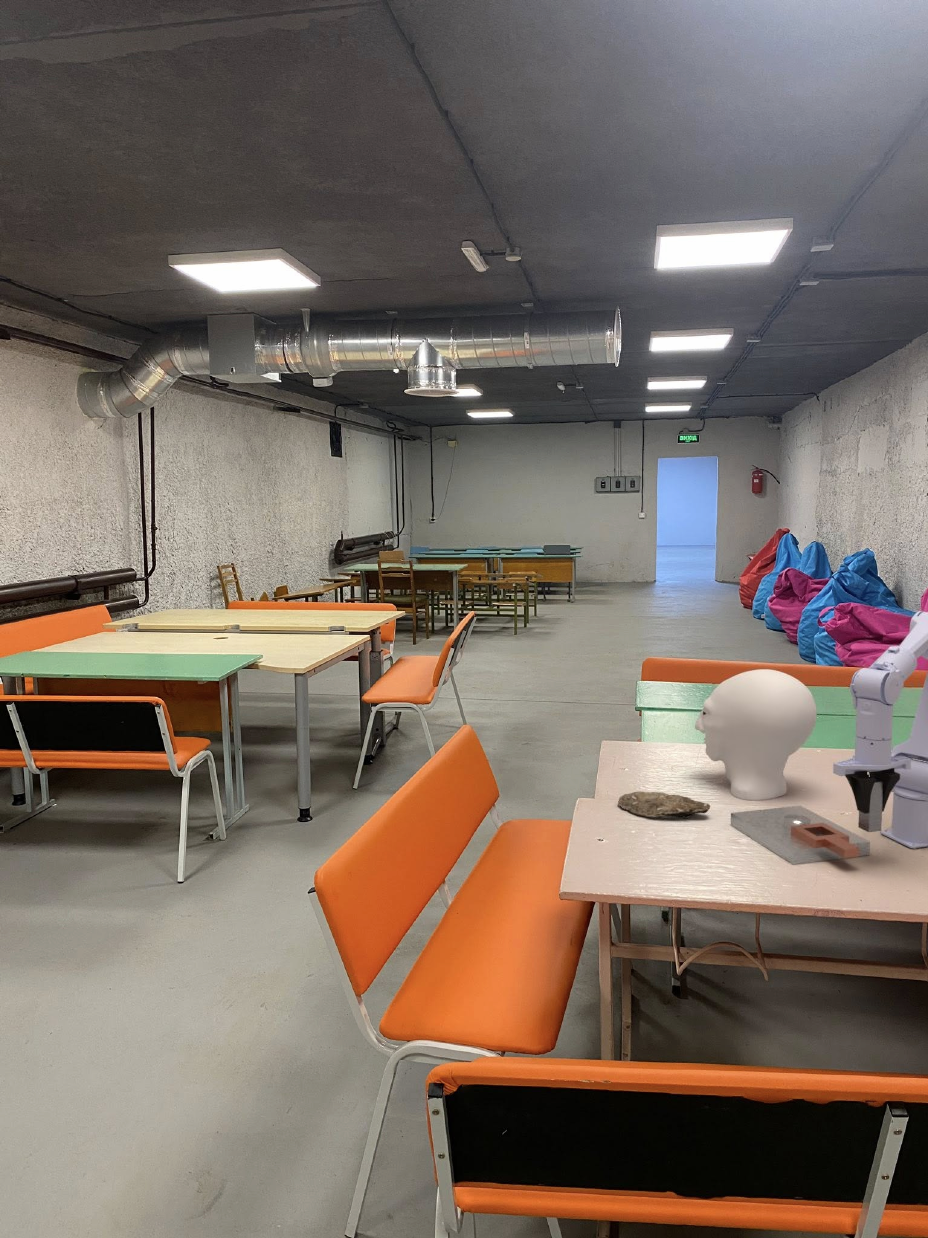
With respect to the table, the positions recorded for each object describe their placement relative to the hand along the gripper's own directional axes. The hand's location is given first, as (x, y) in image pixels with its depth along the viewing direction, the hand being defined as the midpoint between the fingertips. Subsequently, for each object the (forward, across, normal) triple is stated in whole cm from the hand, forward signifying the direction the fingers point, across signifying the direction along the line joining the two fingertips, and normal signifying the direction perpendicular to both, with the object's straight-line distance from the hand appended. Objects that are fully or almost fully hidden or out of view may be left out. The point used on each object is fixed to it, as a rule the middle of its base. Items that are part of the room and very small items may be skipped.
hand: (870, 810), depth 143 cm
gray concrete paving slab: (+9, +6, -9) cm, 15 cm away
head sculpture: (+10, -3, -41) cm, 42 cm away
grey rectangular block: (+3, 0, 0) cm, 3 cm away
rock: (+10, +24, -32) cm, 41 cm away
